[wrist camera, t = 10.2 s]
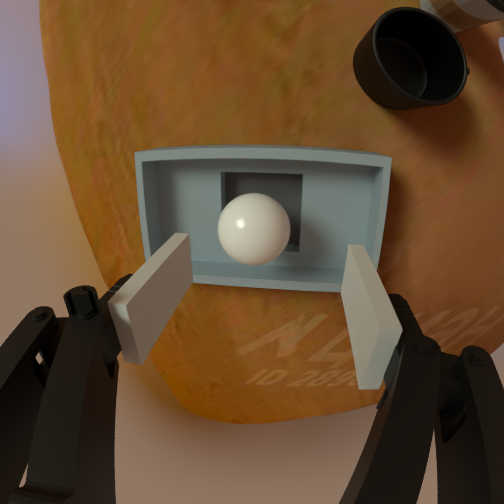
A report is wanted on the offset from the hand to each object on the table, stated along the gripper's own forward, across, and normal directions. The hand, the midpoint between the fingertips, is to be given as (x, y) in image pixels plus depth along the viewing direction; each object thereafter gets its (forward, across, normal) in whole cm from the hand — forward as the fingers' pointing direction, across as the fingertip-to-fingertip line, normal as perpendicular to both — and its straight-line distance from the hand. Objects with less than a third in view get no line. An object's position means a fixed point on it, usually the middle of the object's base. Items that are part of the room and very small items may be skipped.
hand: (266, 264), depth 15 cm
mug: (+20, +13, +15) cm, 28 cm away
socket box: (+20, -2, -2) cm, 20 cm away
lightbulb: (+19, -2, -2) cm, 20 cm away
